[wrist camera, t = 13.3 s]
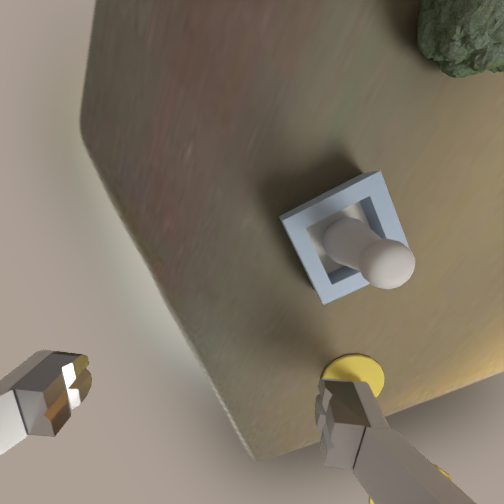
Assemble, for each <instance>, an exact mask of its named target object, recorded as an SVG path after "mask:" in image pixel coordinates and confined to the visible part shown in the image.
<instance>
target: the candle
mask: <svg viewBox="0 0 504 504" xmlns="http://www.w3.org/2000/svg"><path fill="white" fill-rule="evenodd" d="M322 378H329V379H340V380H350V381H351V380H352V381H364V382H367V383H368V384H369V386H370V388H371V390H372V392H373V394H374V396H375V397H377V396H378V395H379V393H380V391H381V389H382V387H383V386H384V373H383V371H382V369H381V367H380V365H379V364H378V363H377V362H376V361H375V360H373V359H372V358H371V357H368V356H364V355H360V354H353V355H345V356H343V357H340V358H338V359H336V360H334V361H333V362H332V363H331V364H330V365H329V366H328V367H327V368H326V369H325V371H324V373H323V376H322ZM433 465H434V464H433ZM434 466H436V467H437V468H438V469H439V470H440V471H441V472H442V473H443V474H444V475H445V476H447V477H448V478H449V479H450V480H451V481H452V479H451V477H450V476H449V474H447V473H446V472H445V471H443V470H442V469H441V468H439V467H438V466H437V465H434ZM369 504H375V503H374V502H373V501H372V499H371V498H370V496H369Z"/></svg>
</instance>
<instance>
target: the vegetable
mask: <svg viewBox="0 0 504 504" xmlns="http://www.w3.org/2000/svg"><path fill="white" fill-rule="evenodd" d="M418 16H419V18H418V29H417V32H418V35H417V39H418V48H419V49H420V52H421V54H423V55H424V56H425V57H426V58H427V59H429V58H433V61H437V62H438V66H439V68H440V69H441V70H442V72H444V73H446V74H447V75H448V76H450V77H454V78H457V77H466V76H468V75H470V74H477V73H478V72H481V73H482V72H483V71H485V70H490V71H492V72H493V73H495V72H498V71H499V72H504V0H420V12H419V14H418Z"/></svg>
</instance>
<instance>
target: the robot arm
mask: <svg viewBox="0 0 504 504" xmlns="http://www.w3.org/2000/svg"><path fill="white" fill-rule="evenodd" d="M88 365H89V361H88V357H87V356H86V355H83V354H75V353H67V352H60V351H49V350H41V351H38V352H36V353H34V354H33V355H32V356H31V357H29V358H28V359H27V360H26V361H24V362H23V363H22V364H21V365H19V366H18V367H17V368H15V369H14V370H13V371H12V372H11V373H9V374H8V375H7V376H5V377H4V378H3V379H2V380H0V455H1V454H3V453H4V452H6V451H7V450H8V449H10V448H11V447H13V446H14V445H16V444H17V443H18V442H20V441H21V440H23V439H24V438H26V437H27V435H40V436H52V437H54V436H56V434H57V433H58V432H59V430H60V429H61V428H62V427H63V425H64V424H65V423H66V422H67V421H68V419H69V418H70V417H71V409H73V408H74V407H76V406H78V405H79V404H81V403H82V401H83V400H84V399H85V398H86V396H87V394H88V392H89V390H90V388H91V383H92V377H91V373H90V372H89V371H88V370H87V369H86V367H87V366H88ZM318 388H319V392H320V394H319V395H317V396H316V400H315V421H316V427H317V429H318V431H319V432H320V433H321V439H320V447H321V452H322V457H323V463H324V466H325V467H332V468H338V469H346V470H353V473H354V475H355V476H356V478H357V479H358V480H359V482H360V483H361V485H362V486H363V488H364V489H365V490H366V492H367V493H368V495H369V496H370V498H371V499H372V501H373V502H374V503H375V504H476V503H475V502H474V501H473V500H472V499H471V498H469V497H468V496H467V495H466V494H465V493H464V492H463V491H462V490H461V489H460V488H459V487H457V486H456V485H455V484H454V483H453V482H452V481H451V480H450V479H449V478H448V477H447V476H445V475H444V474H443V473H442V472H441V471H440V470H439V469H438V468H437V467H436V466H434V465H433V464H432V463H431V462H430V461H429V460H428V459H426V457H425V456H423V455H422V454H421V453H420V452H419V451H418V450H417V449H416V448H415V447H414V446H412V445H411V444H410V443H409V442H408V441H407V440H406V439H405V438H404V437H402V436H401V435H400V434H399V433H398V432H397V431H396V430H391V429H390V427H389V425H388V424H387V421H386V419H385V417H384V415H383V413H382V411H381V409H380V407H379V404H378V402H377V400H376V398H375V396H374V394H373V392H372V390H371V388H370V386H369V384H368V383H367V382H364V381H352V380H351V381H350V380H340V379H329V378H321V379H320V381H319V385H318Z"/></svg>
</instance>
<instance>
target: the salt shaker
mask: <svg viewBox="0 0 504 504" xmlns="http://www.w3.org/2000/svg"><path fill="white" fill-rule="evenodd" d="M323 248H324V250H325V252H326V254H327V256H328V257H329V258H331V259H332V260H333V261H335V262H337V263H339V264H342V265H345V266H348V267H350V268H353V269H356V270H359V271H360V272H361V274H362V276H363V278H364V279H365V280H367V281H368V282H369V283H371V284H372V285H373V286H375V287H378V288H384V289H391V288H396V287H399V286H401V285H402V284H403V283H405V282H406V281H407V280H408V279H409V278H410V276H411V275H412V273H413V272H414V267H415V258H414V255H413V253H412V250H410V249H409V248H408V247H406V246H405V245H404V244H402V243H401V242H400V241H396V240H391V239H386V238H384V239H381V238H380V237H379V236H378V235H377V234H376V233H375V232H374V231H373V230H371V229H370V228H369V227H368V226H367V225H366V224H364V223H363V222H362V221H360V220H359V219H355V218H350V217H346V218H342V219H339V220H336V221H335V222H333V223H332V224H331V225H329V226H328V227H327V229H326V231H325V233H324V236H323Z"/></svg>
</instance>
